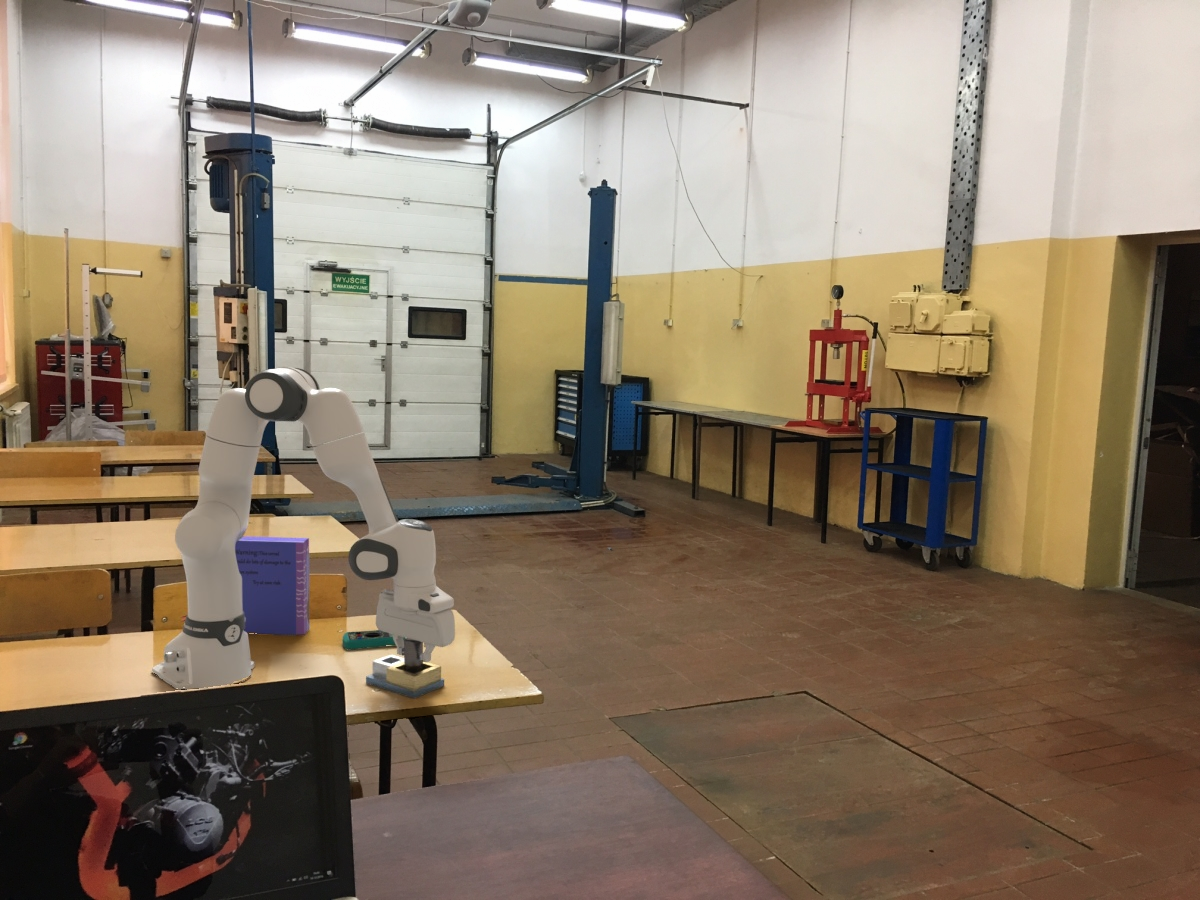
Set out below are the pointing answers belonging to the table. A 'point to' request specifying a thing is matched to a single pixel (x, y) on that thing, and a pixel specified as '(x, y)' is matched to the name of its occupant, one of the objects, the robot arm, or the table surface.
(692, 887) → the table surface
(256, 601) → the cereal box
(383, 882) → the table surface
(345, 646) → the digital multimeter
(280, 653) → the table surface
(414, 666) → the cylinder
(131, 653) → the table surface
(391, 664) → the desk organizer
